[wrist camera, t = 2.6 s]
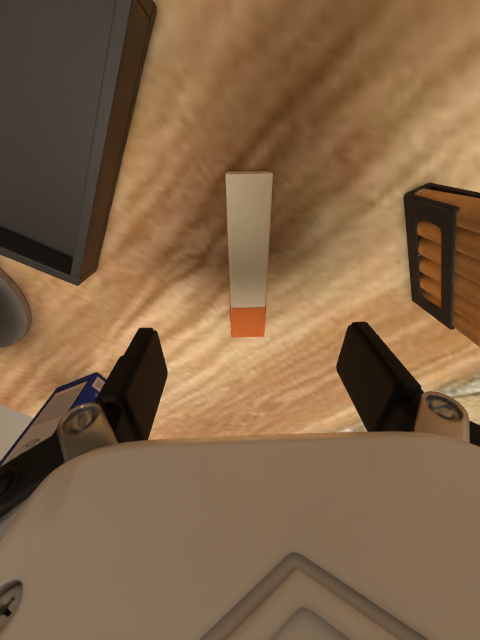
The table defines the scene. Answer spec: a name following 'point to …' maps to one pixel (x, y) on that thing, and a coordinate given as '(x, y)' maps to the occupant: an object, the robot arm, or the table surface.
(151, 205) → the table surface
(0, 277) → the mate gourd
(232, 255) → the rectangular block
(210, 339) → the table surface
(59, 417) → the milk carton
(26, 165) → the tray
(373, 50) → the table surface
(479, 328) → the ammunition clip
